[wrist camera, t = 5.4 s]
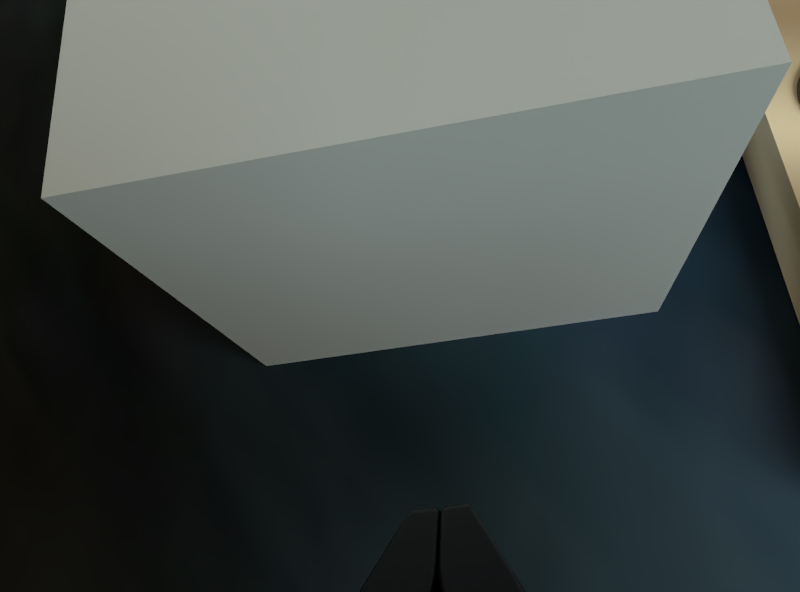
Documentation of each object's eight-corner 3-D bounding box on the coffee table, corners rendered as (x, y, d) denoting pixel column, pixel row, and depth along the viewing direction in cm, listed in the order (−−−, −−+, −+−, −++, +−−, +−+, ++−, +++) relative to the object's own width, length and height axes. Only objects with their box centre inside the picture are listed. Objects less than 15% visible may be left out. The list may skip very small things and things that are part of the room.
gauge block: (657, 312, 16) (792, 61, 8) (267, 366, 18) (40, 198, 9) (592, 55, 19) (643, -317, 11) (263, 118, 21) (90, -175, 12)
